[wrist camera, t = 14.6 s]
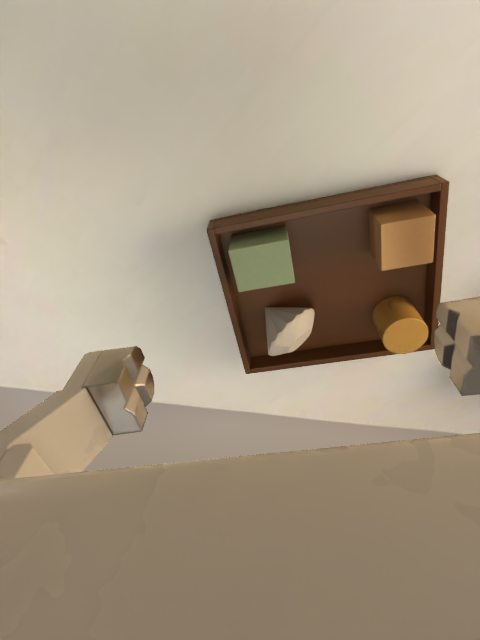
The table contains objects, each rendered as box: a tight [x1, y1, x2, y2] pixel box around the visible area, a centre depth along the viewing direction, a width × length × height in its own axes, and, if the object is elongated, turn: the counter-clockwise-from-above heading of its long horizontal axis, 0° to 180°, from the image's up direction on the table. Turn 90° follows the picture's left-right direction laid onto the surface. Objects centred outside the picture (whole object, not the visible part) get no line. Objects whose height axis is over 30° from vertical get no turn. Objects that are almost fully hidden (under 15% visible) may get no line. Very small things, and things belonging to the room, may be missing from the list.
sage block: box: [228, 225, 295, 292], centre depth 33 cm, size 5×4×4 cm
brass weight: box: [372, 296, 428, 354], centre depth 36 cm, size 4×4×4 cm
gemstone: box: [265, 307, 315, 356], centre depth 37 cm, size 6×6×5 cm
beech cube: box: [369, 200, 436, 271], centre depth 31 cm, size 4×4×4 cm
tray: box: [207, 175, 449, 374], centre depth 35 cm, size 19×16×2 cm
